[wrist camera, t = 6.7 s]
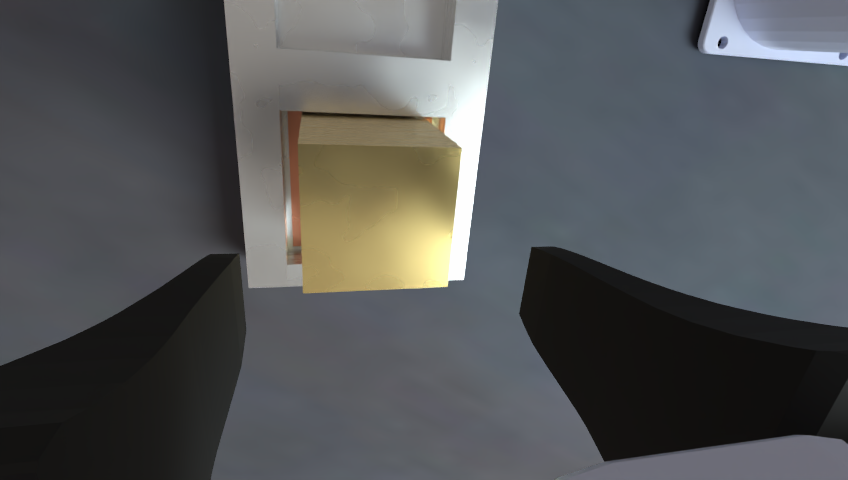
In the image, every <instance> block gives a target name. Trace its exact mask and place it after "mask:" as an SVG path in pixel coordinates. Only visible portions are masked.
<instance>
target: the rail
mask: <svg viewBox="0 0 848 480" xmlns="http://www.w3.org/2000/svg"><path fill="white" fill-rule="evenodd" d="M497 6H498V0H224V7H225V19H226V30H227V42H228V53H229V65H230V77H231V88H232V100H233V111H234V123H235V134H236V146H237V157H238V169H239V180H240V192H241V203H242V215H243V226H244V238H245V249H246V261H247V272H248V284H249V288H265V287H291V286H303V276H302V249H301V221H300V194H299V167H298V138H299V130H300V123H301V116H302V111H304V112H327V113H350V114H373V115H396V116H419V117H424V118H425V119H426V120H428V121H429V122H430V123H431V124H433V125H434V126H435V127H436V128H438V129H439V130H440V131H441V132H443V133H444V134H445V135H446V136H448V137H449V138H450V139H451V140H453V141H454V142H455V143H457V144H458V145H459V146H460V147H462V154H461V163H460V173H459V182H458V192H457V201H456V211H455V220H454V229H453V239H452V248H451V258H450V267H449V277H448V280H464V272H465V264H466V256H467V248H468V240H469V232H470V224H471V215H472V207H473V199H474V191H475V183H476V175H477V167H478V159H479V151H480V143H481V135H482V127H483V119H484V110H485V102H486V94H487V86H488V78H489V70H490V62H491V54H492V46H493V38H494V30H495V22H496V14H497Z"/></svg>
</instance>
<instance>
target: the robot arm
mask: <svg viewBox="0 0 848 480" xmlns="http://www.w3.org/2000/svg"><path fill="white" fill-rule="evenodd" d="M720 38H721V44H720V46H719V47H718V41H719V39H720ZM698 49H699V50H700V52H702V53H705V54H716V55H728V56H739V57H751V58H762V59H774V60H785V61H797V62H808V63H820V64H831V65H843V66H848V0H710V2H709V5H708V9H707V12H706V16H705V19H704V23H703V26H702V30H701V33H700V37H699V40H698ZM839 53H840V54H839ZM519 314H520V317H521V319H522V321H523V324H524V326H525V328H526V331H527V333H528V335H529V337H530V339H531V341H532V343H533V345H534V347H535V348H536V350H537V351H538V353H539V355H540V356H541V358H542V359H543V361H544V362H545V364H546V365H547V367H548V368H549V370H550V371H551V373H552V374H553V376H554V377H555V379H556V380H557V382H558V383H559V385H560V386H561V388H562V389H563V391H564V392H565V394H566V395H567V397H568V398H569V400H570V401H571V403H572V404H573V406H574V407H575V409H576V410H577V412H578V414H579V415H580V417H581V419H582V420H583V422H584V424H585V425H586V427H587V429H588V431H589V433H590V434H591V436H592V438H593V440H594V442H595V444H596V446H597V448H598V450H599V452H600V454H601V456H602V458H603V460H604V462H602V463H599V464H596V465H593V466H590V467H587V468H584V469H581V470H578V471H575V472H572V473H569V474H566V475H563V476H560V477H557V478H556V479H554V480H848V328H847V327H838V326H831V325H824V324H818V323H811V322H805V321H798V320H792V319H787V318H781V317H776V316H771V315H766V314H761V313H757V312H752V311H748V310H743V309H738V308H734V307H730V306H726V305H722V304H718V303H714V302H711V301H707V300H704V299H700V298H697V297H693V296H690V295H686V294H683V293H680V292H677V291H674V290H671V289H668V288H665V287H662V286H659V285H657V284H654V283H651V282H648V281H645V280H643V279H640V278H637V277H635V276H632V275H630V274H627V273H625V272H622V271H620V270H617V269H615V268H612V267H610V266H607V265H605V264H602V263H600V262H597V261H595V260H592V259H590V258H587V257H585V256H582V255H579V254H577V253H574V252H571V251H568V250H565V249H561V248H557V247H532V248H531V253H530V258H529V264H528V269H527V275H526V280H525V286H524V291H523V296H522V302H521V307H520V313H519ZM245 335H246V322H245V311H244V300H243V289H242V279H241V268H240V257H239V254H210V255H208V256H206V257H204V258H203V259H201V260H200V261H198V262H197V263H195V264H194V265H192V266H191V267H190V268H188V269H187V270H185V271H184V272H182V273H181V274H179V275H178V276H176V277H175V278H174V279H172V280H171V281H169V282H168V283H166V284H165V285H163V286H162V287H160V288H159V289H157V290H156V291H154V292H152V293H151V294H149V295H147V296H146V297H144V298H143V299H141V300H139V301H138V302H136V303H134V304H133V305H131V306H129V307H128V308H126V309H124V310H123V311H121V312H119V313H118V314H116V315H114V316H112V317H110V318H108V319H107V320H105V321H103V322H101V323H99V324H97V325H95V326H93V327H91V328H89V329H87V330H85V331H83V332H80V333H78V334H76V335H74V336H72V337H70V338H68V339H66V340H63V341H61V342H59V343H56V344H54V345H51V346H49V347H46V348H44V349H41V350H39V351H37V352H34V353H32V354H29V355H27V356H24V357H22V358H19V359H17V360H14V361H12V362H9V363H7V364H4V365H2V366H0V480H211V474H212V470H213V465H214V461H215V457H216V453H217V449H218V446H219V442H220V439H221V435H222V432H223V428H224V425H225V421H226V418H227V415H228V411H229V408H230V404H231V401H232V397H233V394H234V390H235V387H236V383H237V380H238V376H239V372H240V369H241V364H242V357H243V351H244V343H245Z"/></svg>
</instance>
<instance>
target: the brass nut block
mask: <svg viewBox="0 0 848 480" xmlns="http://www.w3.org/2000/svg"><path fill="white" fill-rule="evenodd" d="M461 154H462V147H460V146H459V145H458V144H457V143H455V142H454V141H453V140H451V139H450V138H449V137H448V136H446V135H445V134H444V133H443V132H441V131H440V130H439V129H438V128H436V127H435V126H434V125H433V124H431V123H430V122H429V121H428V120H426V119H425V118H424V117H419V116H396V115H373V114H350V113H327V112H304V111H302V116H301V123H300V130H299V138H298V167H299V194H300V221H301V249H302V276H303V293H320V292H342V291H364V290H386V289H409V288H431V287H447V286H448V277H449V267H450V258H451V248H452V239H453V229H454V220H455V211H456V201H457V192H458V182H459V173H460V163H461Z"/></svg>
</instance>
